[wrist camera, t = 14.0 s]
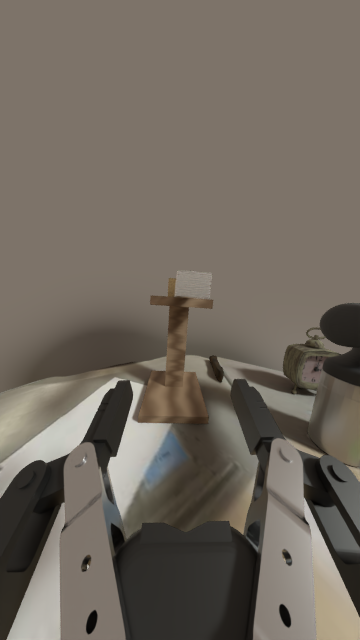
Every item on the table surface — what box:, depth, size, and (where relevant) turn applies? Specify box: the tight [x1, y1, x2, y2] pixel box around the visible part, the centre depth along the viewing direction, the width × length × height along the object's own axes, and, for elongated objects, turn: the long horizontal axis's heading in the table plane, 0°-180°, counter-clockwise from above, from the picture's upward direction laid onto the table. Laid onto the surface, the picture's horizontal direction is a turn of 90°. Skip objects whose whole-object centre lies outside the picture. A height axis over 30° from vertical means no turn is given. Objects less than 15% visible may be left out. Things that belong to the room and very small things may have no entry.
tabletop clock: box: [283, 327, 341, 394], centre depth 52 cm, size 14×9×25 cm, turn 84°
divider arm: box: [168, 270, 212, 298], centre depth 30 cm, size 7×32×5 cm, turn 3°
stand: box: [138, 296, 213, 424], centre depth 44 cm, size 18×22×32 cm
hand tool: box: [209, 356, 224, 382], centre depth 64 cm, size 19×4×5 cm, turn 174°
